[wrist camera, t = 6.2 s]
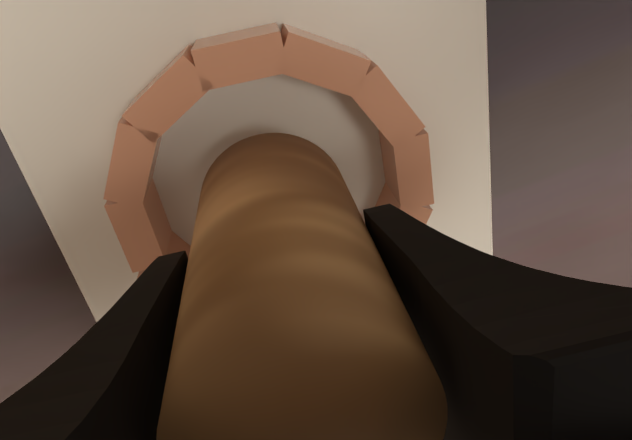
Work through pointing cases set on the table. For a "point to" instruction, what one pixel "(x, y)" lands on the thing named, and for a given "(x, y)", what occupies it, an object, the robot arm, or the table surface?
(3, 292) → the table surface
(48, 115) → the socket board
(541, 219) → the table surface
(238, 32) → the collar
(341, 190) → the wooden peg
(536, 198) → the table surface
